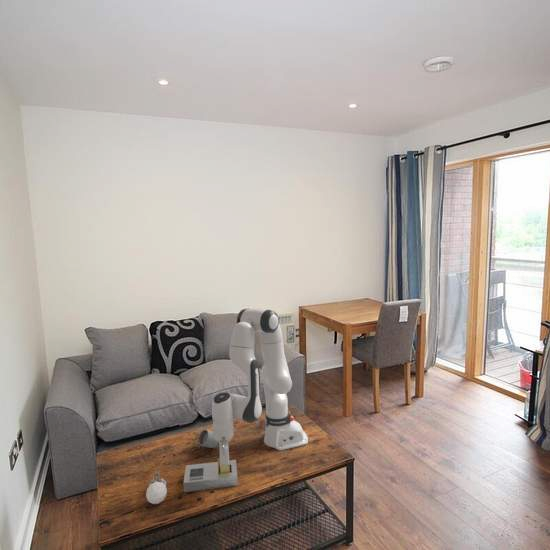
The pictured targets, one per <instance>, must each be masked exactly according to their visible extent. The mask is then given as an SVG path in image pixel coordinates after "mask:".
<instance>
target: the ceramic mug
mask: <svg viewBox="0 0 550 550" xmlns="http://www.w3.org/2000/svg"><path fill="white" fill-rule="evenodd" d="M197 441H198V444H199V446H201V447H205V448H209V449H215V448H216V447H218V445H219V443H218V442H217V441H216V440H215V439H214V438H213V430H210V429H207V428H204V429H203V430H201V431H200V433H199V435H198V439H197Z"/></svg>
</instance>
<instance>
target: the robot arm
mask: <svg viewBox="0 0 550 550" xmlns="http://www.w3.org/2000/svg"><path fill="white" fill-rule="evenodd" d="M257 333H259V336H260V337H259V338H260V346H261V355H262V359H263V363H264V364H263V365H262V366H261V369H260V364H259V362H258V361H257V358H256V357H255V346H256V345H255V342H256V335H257ZM283 338H284V337H283V332H282V328H281V324H280V317H279V316H278V314H277V312H275V310H271V309H264V308H259V307H258V308H249V307H248V308H243V309H241V310H240V311H239V312H238V314H237V317H236V324H235V325H234V327H233V330H232V334H231V338H230V344H229V352H228V353H229V355H228V356H229V359H230V361H231V363H232V364H233V365H234V366H235V367H237V368H238V369H239V370H241V371H242V372H243V373H244V374H245V376H246V378H247V392H248V393H247V394H248V395H247V396H244V395H241V394H236V393H228V392H220V393H219V392H218V393H217V394H216V395H215V396H214V397H213V399H212V405H211V406H212V407H211V417H212V421H213V423H212V432H213V438H214V439H215V440H216V441H217V442H218V445H219V446H218V447H219V458H220V465H221V466H223V468H225V467H227V465H228V464H229V461H230V453H229V452H230V451H229V442H231V440H232V439H233V438H234V435H235V431H234V430H235V429H234V427H235V425H234V421H233V419H238V420H242V421H244V422H246V423H249V424H253V423H255V422H256V421H258V420H259V419H260V418H261V417H262V413H263V403H262V399H261V397H262V396H261V377H262V386H263V390H264V391H263V392H264V399H265V415H264V416H265V417H264V421H265V422H264V423H265V431H264V438H263V443H264V444H265V445H266V446H267V447H270V448H274V449H276V450H277V451H283V450H288V449H289V450H290V449H294V448H298V447H301V446H306V445H307V444H308V442H309V438H308V434H307V433H306V432H305V431H304V430H303V428H302V427H303V426H302V425H301V424H300V423H299V422H298V421H296V420H295V418H294V416H293V414H292V413H291V412H290V411H289V409H288V407H289V405H288V403H289V402H288V396H287V394H288V393H289V392H290V391H291V389H292V387H293V381H292V378H291V375H290V370H289V366H288V363H287V359H286V355H285V347H284V339H283ZM260 370H261V371H260Z"/></svg>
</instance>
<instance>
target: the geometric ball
mask: <svg viewBox="0 0 550 550" xmlns="http://www.w3.org/2000/svg"><path fill="white" fill-rule="evenodd" d="M167 492H168V489H167V487H166V486H165V484H163V483H162V482H154V483H153V484H151V485H150V486H149V485H148V487H147V489H146V493H145V497H146V499H147V502H149V503H150V504H152V505H159V504H160V503H162V502H163V501H164V500H165V499H166V497H167Z"/></svg>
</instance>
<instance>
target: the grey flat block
mask: <svg viewBox="0 0 550 550" xmlns="http://www.w3.org/2000/svg"><path fill="white" fill-rule="evenodd" d="M229 465H230V473H223V474H220V466H218V461H215V462H214V461H213V462H205V463H196V464H187V465H185V470H184V477H183V493H188V492H197V491H204V490H212V489H220V488H228V487H229V488H230V487H235V486H237V487H238V486H239V485H238V484H239V483H238V469H237V468H238V467H237V460H236V459H232V460H230V459H229Z"/></svg>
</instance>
